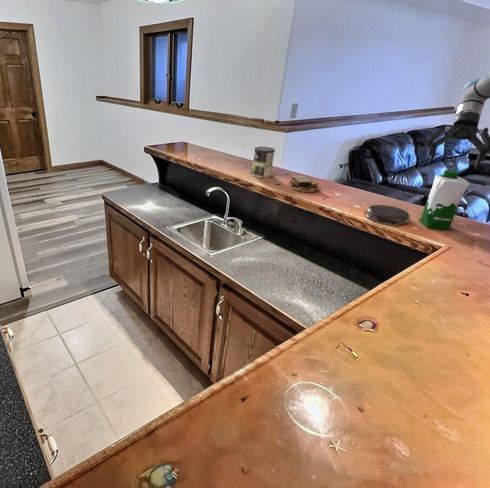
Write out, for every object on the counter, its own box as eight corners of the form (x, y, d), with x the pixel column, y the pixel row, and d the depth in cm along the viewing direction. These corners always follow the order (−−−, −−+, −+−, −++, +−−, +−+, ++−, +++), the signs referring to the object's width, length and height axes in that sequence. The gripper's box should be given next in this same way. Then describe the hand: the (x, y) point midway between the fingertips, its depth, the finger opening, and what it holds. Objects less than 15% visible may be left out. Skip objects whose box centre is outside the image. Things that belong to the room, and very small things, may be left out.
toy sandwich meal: (296, 193, 161) (298, 183, 159) (285, 184, 173) (287, 175, 171) (322, 193, 162) (324, 183, 160) (310, 184, 174) (312, 175, 172)
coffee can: (253, 177, 184) (257, 150, 178) (249, 172, 193) (252, 146, 187) (273, 177, 184) (277, 150, 178) (268, 172, 193) (272, 146, 187)
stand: (408, 217, 136) (411, 209, 134) (406, 229, 126) (409, 220, 124) (368, 210, 143) (370, 202, 141) (363, 220, 133) (365, 212, 131)
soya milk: (441, 222, 132) (462, 170, 123) (453, 232, 124) (476, 177, 115) (415, 220, 134) (434, 168, 125) (425, 229, 126) (446, 175, 117)
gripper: (506, 127, 129) (493, 176, 125) (425, 121, 142) (411, 165, 137) (515, 113, 123) (502, 164, 118) (430, 108, 135) (415, 153, 131)
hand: (453, 164), depth 128 cm, fingers open, 13 cm apart
